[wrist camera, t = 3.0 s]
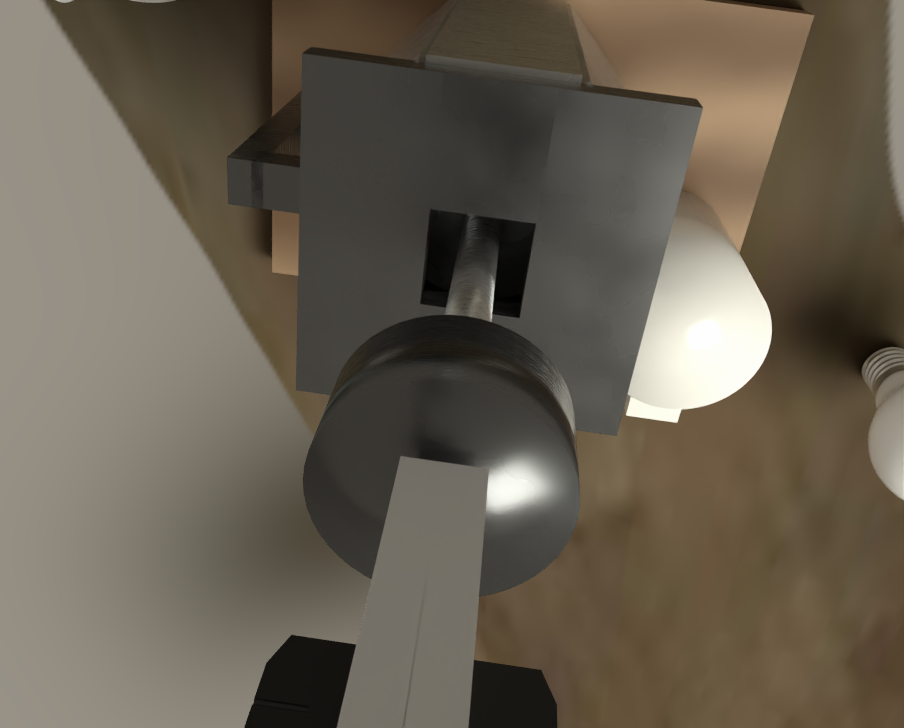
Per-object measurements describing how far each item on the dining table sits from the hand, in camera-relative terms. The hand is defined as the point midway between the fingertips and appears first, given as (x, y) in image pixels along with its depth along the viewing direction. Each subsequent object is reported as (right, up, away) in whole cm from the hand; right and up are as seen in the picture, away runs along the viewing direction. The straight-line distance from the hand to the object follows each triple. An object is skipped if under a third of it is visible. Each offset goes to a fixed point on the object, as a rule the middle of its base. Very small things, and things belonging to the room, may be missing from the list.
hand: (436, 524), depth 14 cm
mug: (+11, +8, +28) cm, 31 cm away
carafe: (+1, +15, +25) cm, 29 cm away
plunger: (+2, +9, +16) cm, 18 cm away
